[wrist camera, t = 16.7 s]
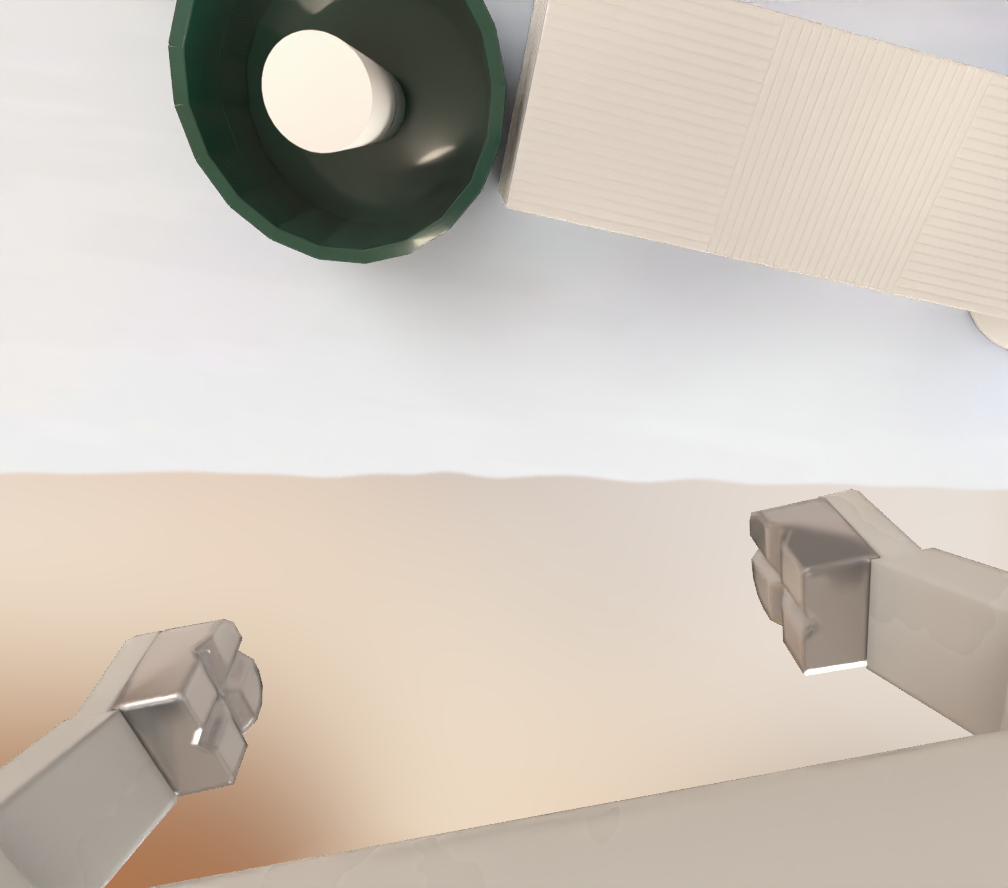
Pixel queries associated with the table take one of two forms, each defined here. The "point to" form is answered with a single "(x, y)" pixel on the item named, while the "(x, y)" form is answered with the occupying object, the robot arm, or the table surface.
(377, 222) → the pot
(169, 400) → the table surface
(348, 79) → the tube
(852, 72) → the cream long block
